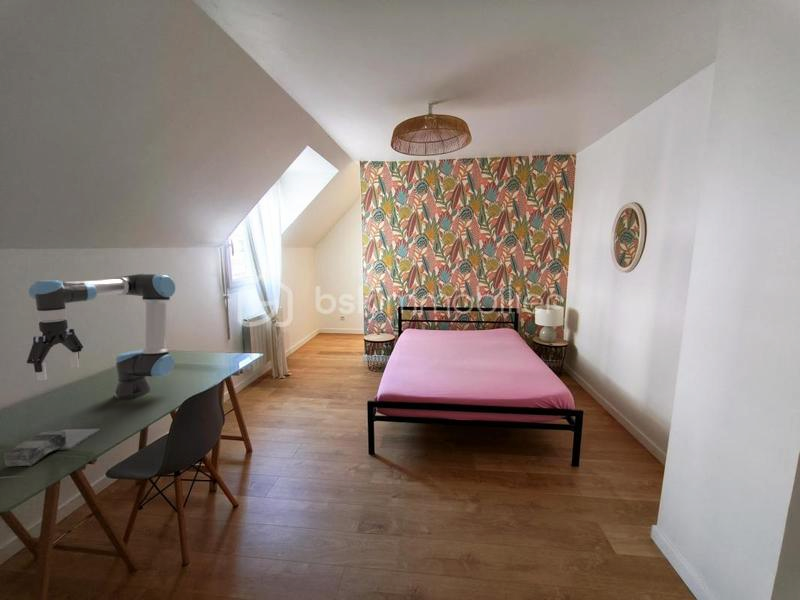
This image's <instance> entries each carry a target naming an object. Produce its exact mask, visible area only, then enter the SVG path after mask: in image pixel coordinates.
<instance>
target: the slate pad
mask: <svg viewBox="0 0 800 600" xmlns="http://www.w3.org/2000/svg"><path fill="white" fill-rule="evenodd" d="M100 430H101V429H100V428H73V429H69V428H68V429H67V428H66V429H63V430H62V431H65V433H66V444H64V445H63V446H61V447H60V448H58V449H55V450H54V451H61V450H62V451H63V450H64V451H65V450H67V451H68V450H71V449H73V448H74V447H77V446H78V445H79V444H81V443H82V442H83V440H84V441H85V439H86V440H87V439H88V437H89V436H90V437H92V436H93V435H94V434H95V435H96V433H98V432H100ZM91 435H92V436H91ZM90 437H89V438H90ZM81 441H82V442H81ZM80 442H81V443H80ZM77 444H78V445H77Z"/></svg>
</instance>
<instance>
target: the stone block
mask: <svg viewBox="0 0 800 600" xmlns="http://www.w3.org/2000/svg"><path fill="white" fill-rule="evenodd" d="M64 444H66V433H65V431H63V430H58V431H57V430H51V431H50V430H47V431H46V430H45V431H44V430H43V431H42V432H40V433H38V434H36V435H34V436H33V437H31V438H29V439H28V440H26V441H24V442H22V443H19V444H18V445H17V446H15V447H13V448H12V449H9V450H8V451H6V452H5V453H3V458H4V462H5V466H6V467H11V468H12V467H22V466H23V467H24V466H28V467H32V466H33V465H35V464H36V463H38V462H39V461H40V460H41V459H43V458H44V457H45V456H46V455H48V454H49V453H51V452H53V451H56V450H55V449H58V448H60V447H61V446H63V445H64Z"/></svg>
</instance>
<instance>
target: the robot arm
mask: <svg viewBox="0 0 800 600" xmlns="http://www.w3.org/2000/svg"><path fill="white" fill-rule="evenodd" d="M175 292H176V283H175V282H174V279H172V278H171V276H169V275H165V274H160V273H159V274H158V273H157V274H149V273H148V274H145V273H137V274H131V275H123V276H115V277H114V278H107V279H105V278H104V279H89V280H75V281H73V280H72V281H71V280H69V281H62V280H60V279H44V280H43V279H42V280H36V281H35V282H34V283H33V284H31V285H30V287H29V288H28V294H29V297H31V298H32V300H33V299H34V300H35V303H36V305H35V306H36V310H37V319H38V321H39V322H38V326H39V327H38V328H39V332H41V333H42V335H39V336H36V335H35V336H33V339H32V340H33V341H32V342H33V343H32V345H31V348H30V350H29V351H30V352H29V355H28V357H27V360H26V364H28V365H29V364H31V365H33V367H34V372H35V373H36V378H37V379H36V380H37V381H47V380H48V375H47V368H46V362H44V360H45V358H46V357H47V355H48V353H49V352H50V350H51V349H52V348H53V347H54V346H56V345H57V344H58V345H59V344H62V345H63V346H64V347H66V348H67V350H69V352H68V354H69V355H68V356H69V364H70V369H73V368H74V369H77V368H78V369H79V368H80V360H79V359H80V352H82V351H83V350H82V349H84V345H83V344H82V342H81V341H80V339H79V338H78V337H77V335H76V333H75V329H74V328H68V327H69V325H68V320H67V318H68V317H67V309H66V304H69V303H79V302H87V301H92V300H94V299H95V298H96V297H99V296H107V295H108V296H109V295H117V296H135V297H136V296H137V297H142V300H143V302H144V303H145V306H146V307H145V348H144V349H137V350H131V351H126V352H122V353H120V354H118V355H117V356H116V361H115V363H116V364H115V365H116V370H117V371H116V372H117V380H118V383H117V385H116V390H115V392H114V397H115V399H118V400H128V399H135V398H139V397H141V396H144V395H146V393H147V394H149V393H150V392H151V391H152V385H151V384H150V382H149V380H148V378H147V377H151V378H152V377H153V378H162V377H166V376H167V375H169V373H170V372H171V371H172V370H173V368H174V366H175V358H174V357H173V355H172V354H170V350H169V348H167V346H166V337H167V333H166V331H167V304H168V302H169V301H170V299H171V297H173V296H174V294H175Z"/></svg>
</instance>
